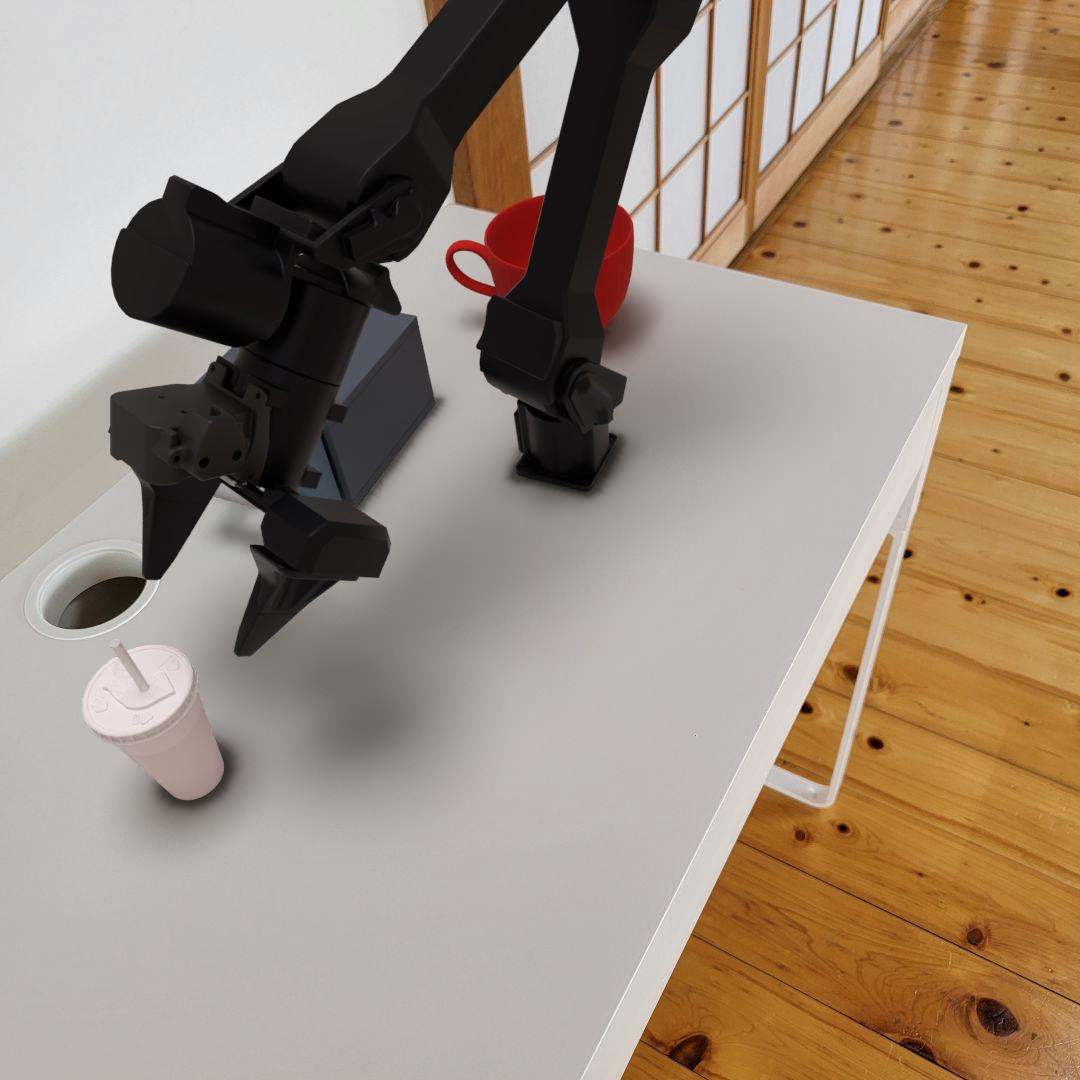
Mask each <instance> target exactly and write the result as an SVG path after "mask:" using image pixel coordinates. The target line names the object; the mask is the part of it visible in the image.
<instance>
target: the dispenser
mask: <svg viewBox="0 0 1080 1080" xmlns="http://www.w3.org/2000/svg"><path fill="white" fill-rule="evenodd" d="M238 349H239V347H238V348H234V347H230V348H229V349H228V350H227V351H226V352H225V353H224V354H223V355H222V356H223V357H226V358H230V359H234V360H235V357H236V355H237V352H238ZM428 366H429V365H428V362H427V357H426V352H425V348H424V344H423V338H422V335H421V330H420V325H419V319H418V316H417V315H415V314H409V313H406V312H405V313H404V312H401V313H400V314H399V315H397V316H393V315H390V314H388V313H385V312H383V311H380V310H378V309H375V308H372V307H371V311H370V313H369V316H368V318H367V321H366V323H365V326H364V328H363V331H362V333H361V336H360V338H359V341H358V343H357V346H356V348H355V351H354V353H353V356H352V358H351V361H350V363H349V366H348V368H347V371H346V374H345V376H344V379H343V381H342V384H341V386H340V389H339V391H338V394H337V396H336V399H335V400H337V401H339V402H341V403H342V404H344V405H346V406H348V407H349V409H348V411H347V413H346V416H345V418H344V421H343V423H338V422H334V421H329V420H327V421H326V424H325V426H324V429H323V434H324V437H325V440H326V443H327V446H328V449H329V452H330V455H331V458H332V461H333V464H334V467H335V470H336V473H337V476H338V479H339V482H340V485H341V486H339V485H337V488H338V491H339V494H340V497H341V500H342V501H346V502H348V503H349V504H351V505H353V506H354V507H356V508H357V507H358V506H359V504H360V503H361V502H362V501H363V499H364V497H365V496H366V495H367V494H368V492H369V491H370V490H371V488H372V487H373V486H374V485H375V484H376V482H377V480H378V479H380V477H381V475H382V474H383V473H384V471H385V470H386V469H387V468H388V466H389V465H390V464H391V462H392V461H393V460H394V458H395V457H396V455H397V454H398V453H399V452H400V450H401V449H402V448H403V446H404V445H405V444H406V442H407V441H408V440H409V439H410V438H411V436H412V435H413V433H415V431H416V429H417V428H418V427H419V426H420V425H421V423H422V422H423V421H424V419H425V418H426V416H427V415H428V414H429V413H430V411H431V410H432V409H433V407H434V406H435V405H436V397H435V394H434V389H433V385H432V381H431V376H430V371H429V367H428ZM206 373H207V371H206V372H204V373H203V375H202V376H201V377H200V378H198V380H197V381H195V382H194V384H198V383H201V382H202V381H203V379H204V378H205V376H206Z"/></svg>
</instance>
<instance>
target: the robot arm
mask: <svg viewBox="0 0 1080 1080" xmlns="http://www.w3.org/2000/svg"><path fill="white" fill-rule="evenodd" d="M703 1H704V0H446V2H445V3H444V4H443V6H442V7H441V8H440V9H439V11H438V12H437V13H436V14H435V16H434V17H433V18H432V19H431V20H430V22H429V23H428V25H427V26H426V27H425V28H424V30H423V31H422V32H421V34H420V35H419V36H418V37H417V39H416V40H415V41H414V42H413V43H412V45H411V46H410V47H409V49H408V50H407V51H406V53H405V54H404V55H403V56H402V58H401V59H400V60H399V61H398V63H397V64H396V65H395V66H394V68H393V69H392V70H391V72H389V73H388V74H387V75H386V76H385V77H384V78H383V79H382V80H381V81H380V82H378V83H377V84H375V85H374V86H372V87H369V88H368V89H366V90H364V91H362V92H360V93H357V94H356V95H353V96H351V97H349V98H347V99H344V100H343V101H340V102H338V103H337V104H334V106H332V108H331V109H329V110H328V111H327V112H326V113H325V114H323V116H322V117H320V118H319V119H318V120H317V121H316V122H315V123H314V124H313V125H311V126H310V128H308V129H307V130H306V131H305V132H304V133H302V134H301V136H299V137H298V138H297V139H296V140H295V142H293V144H292V146H291V147H290V149H289V150H288V152H287V154H286V156H285V157H284V159H283V161H282V162H281V163H279V164H278V165H277V166H275V167H273V168H272V169H271V170H269V171H268V172H266V174H264V175H263V176H261V177H260V178H258V179H257V180H256V181H255V182H253V183H252V184H251V185H249V186H248V187H246V188H245V189H244V190H242V191H241V192H239V193H238V194H236V195H235V196H234V197H233V198H230V200H228V201H226V200H224V199H223V198H222V197H221V196H220V195H219V194H216V192H214V191H212V190H209V189H207V188H205V187H203V186H201V185H198V184H197V183H194V182H191V181H190V180H187V179H185V178H183V177H180V176H179V175H175V174H172V175H171V176H169V177H168V179H167V182H166V185H165V188H164V191H163V194H162V196H161V197H159V198H156V199H153V200H150V201H149V202H147V203H146V204H145V205H143V206H142V207H140V208H139V210H138V211H136V213H135V214H134V215H133V216H132V217H131V219H130V221H129V223H127V226H126V227H122V228H121V229H120V230H119V233H118V235H117V238H116V240H115V244H114V247H113V251H112V256H111V263H110V266H111V267H110V283H111V289H112V293H113V297H114V299H115V302H116V304H117V306H118V308H119V309H120V310H121V311H122V312H123V313H124V315H126V316H127V317H128V318H130V319H133V320H137V321H140V322H143V323H146V324H150V325H153V326H157V327H160V328H164V329H168V330H170V331H174V332H178V333H181V334H185V335H188V336H191V337H195V338H198V339H202V340H205V341H208V342H212V343H215V344H219V345H222V346H225V347H230V348H231V347H234V348H238V347H239V349H238V352H237V355H236V357H235V360H234V359H230V358H226V357H223V355H219V354H218V355H217V357H216V359H215V360H214V361H212V362H210V364H209V365H208V368H207V370H206V372H207V373H206V372H205V373H206V376H205V378H204V379H203V381H202V382H201V383H198V384H195V383H171V384H169V383H168V384H163V385H155V386H149V387H148V386H147V387H141V388H134V389H128V390H121V391H117V392H114V393H112V394H110V397H109V427H108V431H107V433H108V434H109V454H110V457H112V458H113V459H114V460H116V461H118V462H119V461H122V462H123V463H124V464H125V465H127V466H129V467H130V469H131V470H132V472H133V473H134V475H135V476H136V478H137V479H138V481H139V484H140V491H141V492H140V493H141V506H142V507H141V508H142V513H141V514H142V521H141V522H142V526H141V530H142V534H141V535H142V536H141V539H142V540H141V547H142V548H141V576H142V577H143V578H144V579H145V580H146V581H159V580H161V579H162V578H163V577H164V575H165V574H166V573H167V571H168V570H169V568H170V567H171V566H172V564H173V563H174V562H175V561H176V559H177V557H178V556H179V553H180V552H181V550H182V549H183V547H184V546H185V544H186V542H187V540H188V539H189V537H190V536H191V534H192V533H193V531H194V529H195V528H196V527H197V524H198V523H199V521H200V519H201V518H202V516H203V514H204V512H205V511H206V509H207V508H208V506H209V504H210V503H211V501H212V499H213V498H214V497H213V496H214V494H215V493H216V491H217V489H218V488H219V486H220V484H221V483H222V484H224V485H225V486H227V487H228V488H230V489H231V490H232V491H234V492H235V493H237V494H238V495H240V496H241V497H242V498H244V499H245V500H247V501H248V502H249V503H251V504H252V505H254V506H255V507H257V508H258V509H257V510H259V511H261V512H262V513H263V514H264V516H263V518H262V521H261V523H260V532H261V537H262V542H263V544H255V543H250V544H249V549H250V552H251V555H252V557H253V559H254V563H255V566H256V568H257V576H256V578H255V581H254V583H253V587H252V590H251V593H250V596H249V598H248V601H247V605H246V607H245V610H244V613H243V616H242V618H241V621H240V624H239V627H238V630H237V634H236V639H235V643H234V647H233V654H234V655H236V656H237V657H239V658H242V657H244V658H245V657H251V656H253V655H254V654H255V653H256V652H257V651H258V650H260V649H261V648H262V647H263V646H264V645H266V643H267V642H268V641H270V639H272V638H273V637H274V636H275V635H276V634H277V633H278V632H279V631H280V630H281V629H283V628H284V627H285V626H286V625H287V624H288V623H289V622H290V621H292V619H293V618H294V617H296V616H297V615H298V614H299V613H300V612H301V611H303V610H304V609H305V608H306V607H307V606H308V605H309V604H311V603H312V602H313V601H315V600H316V599H317V598H319V597H320V596H321V595H323V594H324V593H325V592H327V591H328V590H330V589H331V588H332V587H333V586H335V585H336V584H338V583H339V582H340V581H341V582H357V581H358V580H359V579H360V578H370V579H379V578H380V576H381V573H382V572H383V569H384V566H385V564H386V562H387V560H388V557H389V555H390V552H391V548H392V542H391V541H392V540H391V538H390V535H389V531H388V527H387V526H385V525H383V524H382V523H380V522H379V521H377V520H376V519H374V518H373V517H371V516H370V515H368V514H366V513H365V512H364V511H361V510H360V509H359V508H357V507H354V506H353V505H351V504H349V503H348V502H346V501H340V500H333V499H326V498H319V497H312V496H305V495H300V494H299V493H297V490H298V488H299V487H304V488H311V489H316V488H317V486H318V483H319V481H320V478H321V476H322V473H321V472H319V471H318V470H316V469H315V468H313V467H312V466H310V465H309V464H310V461H311V459H312V456H313V454H314V451H315V449H316V446H317V444H318V441H319V439H320V436H321V434H322V431H323V429H324V426H325V424H326V421H327V420H329V421H334V422H338V423H343V421H344V418H345V416H346V413H347V411H348V409H349V407H348V406H346V405H344V404H342V403H341V402H339V401H337V400H335V399H336V396H337V394H338V391H339V389H340V386H341V384H342V381H343V379H344V376H345V374H346V371H347V368H348V366H349V363H350V361H351V358H352V356H353V353H354V351H355V348H356V346H357V343H358V341H359V338H360V336H361V333H362V331H363V328H364V326H365V323H366V321H367V318H368V316H369V313H370V311H371V307H372V308H375V309H378V310H380V311H383V312H385V313H388V314H390V315H393V316H397V315H399V314H400V313H402V310H403V307H402V304H401V301H400V298H399V296H398V294H397V292H396V290H395V288H394V286H393V284H392V280H391V275H390V274H391V273H390V269H389V268H388V267H387V266H386V265H383V264H387V263H393V262H395V263H400V262H402V261H403V260H405V259H407V258H408V257H409V256H410V255H411V254H412V253H413V252H414V251H415V250H416V249H417V248H418V247H419V246H420V244H421V243H422V241H423V239H424V238H425V236H426V234H427V233H428V231H429V229H430V227H431V226H432V224H433V223H434V220H435V219H436V218H437V215H438V214H439V212H440V210H441V209H442V206H443V205H444V204H445V201H446V200H447V198H448V196H449V195H450V192H451V189H452V183H453V174H454V173H453V172H454V171H453V170H454V162H455V154H456V151H457V149H458V148H459V146H460V144H461V142H462V141H463V139H464V137H465V136H466V134H467V133H468V132H469V130H470V129H471V128H472V126H473V125H474V124H475V122H476V121H477V120H478V118H479V117H480V116H481V115H482V113H483V112H484V110H486V108H487V107H488V105H489V104H490V103H491V102H492V100H493V99H494V98H495V96H496V95H497V94H498V93H499V91H500V90H501V89H502V87H503V86H504V85H505V84H506V82H507V81H508V80H509V78H510V77H511V75H512V74H513V73H514V71H516V70H517V68H518V66H519V65H520V64H521V62H522V61H523V59H524V58H525V57H526V56H527V54H529V52H530V51H531V49H532V48H533V47H534V45H536V43H537V42H538V41H539V39H540V38H541V37H542V35H543V34H544V32H545V31H546V30H547V28H548V27H549V26H550V25H551V23H552V22H553V21H554V19H556V16H557V15H558V14H559V13H560V12H561V10H562V9H563V7H564V6H565V5H566V3H567V7H568V10H569V15H570V20H571V24H572V28H573V31H574V35H575V36H574V37H575V41H576V44H577V49H578V52H577V59H576V63H575V67H574V72H573V75H572V80H571V83H570V87H569V93H568V97H567V99H566V100H567V101H566V105H565V109H564V114H563V117H562V121H561V126H560V130H559V134H558V138H557V142H556V146H555V147H556V148H555V152H554V155H553V159H552V163H551V167H550V171H549V176H548V179H547V183H546V187H545V192H544V195H545V196H544V200H543V204H542V208H541V212H540V217H539V221H538V225H537V229H536V233H535V237H534V241H533V246H532V250H531V254H530V258H529V262H528V266H527V270H526V273H525V275H524V277H523V278H522V279H521V280H520V281H519V282H518V283H517V284H516V285H515V286H514V287H513V288H512V289H511V290H510V291H509V292H508V293H507V294H506V295H505V296H504V297H503V296H499V295H493V296H492V297H490V299H489V301H488V302H487V304H486V309H485V310H486V311H485V318H484V326H483V327H482V332H481V335H480V337H479V339H478V341H477V343H476V345H475V348H476V350H478V351H480V352H479V362H478V363H479V371H480V372H481V373H483V376H484V378H485V380H486V382H487V383H488V384H489V385H490V386H492V387H493V388H495V389H497V390H499V391H500V392H501V393H502V394H505V395H507V396H508V395H509V396H511V397H513V398H515V399H517V400H516V407H517V408H516V410H514V412H513V419H514V428H515V435H516V440H517V447H518V451H519V453H521V454H522V455H521V458H520V459H519V461H518V462H517V464H516V465H515V472H516V474H517V475H520V476H523V477H528V478H532V479H536V480H541V481H544V482H548V483H551V484H557V485H560V486H564V487H569V488H573V489H577V490H581V491H590V490H591V489H592V488H593V485H594V484H595V482H596V480H597V479H598V477H599V476H600V474H601V472H602V470H603V469H604V467H605V465H606V463H607V461H608V460H609V457H610V456H611V454H612V452H613V451H614V449H615V447H616V445H617V444H618V436H617V434H615V433H612V432H609V431H610V430H609V429H610V428H609V424H610V423H611V422H612V421H613V420H614V413H615V409H616V408H617V407H619V406H620V405H621V404H622V403H623V401H624V396H625V392H626V387H627V383H628V377H627V376H626V375H624V374H622V373H619V372H617V371H615V370H613V369H611V368H608V367H606V366H604V365H602V364H601V361H602V355H603V350H604V344H605V336H606V335H605V330H604V328H603V326H602V322H601V318H600V314H599V310H598V305H597V301H596V297H595V288H596V284H597V280H598V276H599V273H600V269H601V265H602V262H603V258H604V254H605V251H606V247H607V243H608V240H609V236H610V232H611V229H612V225H613V221H614V218H615V214H616V210H617V206H618V204H619V202H620V200H621V195H622V191H623V188H624V184H625V180H626V176H627V173H628V169H629V166H630V162H631V159H632V155H633V151H634V148H635V143H636V140H637V136H638V133H639V129H640V126H641V121H642V118H643V114H644V110H645V106H646V104H647V99H648V95H649V92H650V89H651V84H652V81H653V78H654V76H655V73H656V71H657V70H658V69H659V68H660V67H661V66H662V65H663V64H664V63H665V61H666V60H667V59H668V58H669V57H670V56H671V55H672V54H673V53H674V52H675V50H677V48H679V46H680V45H681V44H682V43H683V42H684V41H685V40H686V39H687V37H689V35H690V33H692V29H693V27H694V24H695V23H696V19H697V16H698V14H699V11H700V8H701V6H702V3H703ZM256 486H258V487H262V488H263V489H265V490H264V492H263V491H262V490H260V489H259V488H257V487H256Z"/></svg>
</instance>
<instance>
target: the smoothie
mask: <svg viewBox="0 0 1080 1080" xmlns="http://www.w3.org/2000/svg"><path fill="white" fill-rule="evenodd" d="M109 647H110V648H111V650H112V651H113V652H114V655H116V656H113V658H111V659H109V660H108V661H107V662H105V663H104V664H103V665H102V666H101V667H100V668H99V669H98V670H97V671H96V672H95V673H94V675H92V677H91V678H90V680H89V681H88V683H87V685H86V687H85V689H84V692H83V695H82V699H81V711H82V712H81V713H82V716H83V719H84V721H85V722H86V723H87V725H88V727H89V729H90V730H91V731H92V734H93V735H94V736H95V737H96V738H98V739H100V740H101V741H102V742H104V743H108V744H111V745H114V746H115V747H117V748H118V749H119V750H120V751H121V752H122V753H124V754H125V755H126V756H127V757H128V758H129V759H130V760H131V761H133V763H135V764H136V765H137V766H139V768H141V769H142V770H143V771H144V772H145V773H146V774H147V775H149V776H150V777H151V778H152V779H153V780H154V781H155V782H157V783H158V784H159V786H161V787H162V788H163V789H165V790H166V791H167V792H168V793H169V795H171V796H172V797H174V798H175V799H178V800H181V801H193V800H197V799H200V798H203V797H205V796H206V795H208V794H209V793H211V792H212V791H213V790H214V789H216V787H217V786H218V785H219V783H220V782H221V780H222V779H223V776H224V772H225V762H224V759H223V756H222V754H221V751H220V748H219V745H218V743H217V740H216V737H215V734H214V731H213V729H212V726H211V724H210V720H209V718H208V715H207V713H206V709H205V708H204V707H205V706H204V704H203V702H202V699H201V696H200V693H199V677H198V673H197V670H196V668H195V667H194V666H193V664H192V663H191V661H190V659H189V658H188V657H187V656H186V655H185V654H184V653H183V652H182V651H181V650H179V649H177V648H176V647H173V646H170V645H165V644H144V645H141V646H137V647H134V648H130V649H126V648H125V646H124V644H123V643H122V642H121V640H120V639H118V638H115V639H112V640H111V641H110V642H109Z"/></svg>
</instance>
